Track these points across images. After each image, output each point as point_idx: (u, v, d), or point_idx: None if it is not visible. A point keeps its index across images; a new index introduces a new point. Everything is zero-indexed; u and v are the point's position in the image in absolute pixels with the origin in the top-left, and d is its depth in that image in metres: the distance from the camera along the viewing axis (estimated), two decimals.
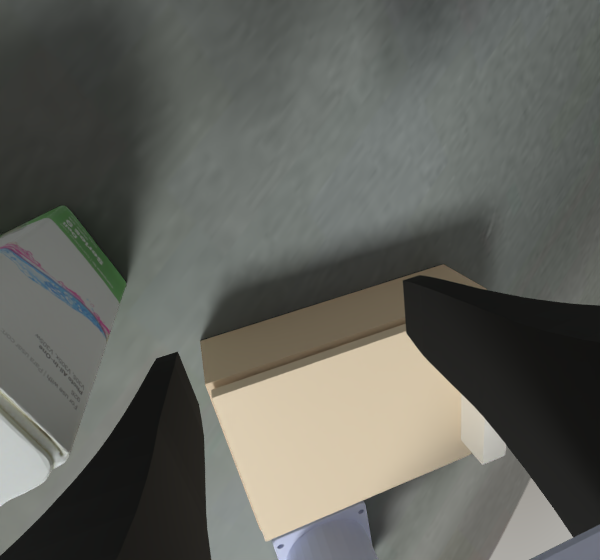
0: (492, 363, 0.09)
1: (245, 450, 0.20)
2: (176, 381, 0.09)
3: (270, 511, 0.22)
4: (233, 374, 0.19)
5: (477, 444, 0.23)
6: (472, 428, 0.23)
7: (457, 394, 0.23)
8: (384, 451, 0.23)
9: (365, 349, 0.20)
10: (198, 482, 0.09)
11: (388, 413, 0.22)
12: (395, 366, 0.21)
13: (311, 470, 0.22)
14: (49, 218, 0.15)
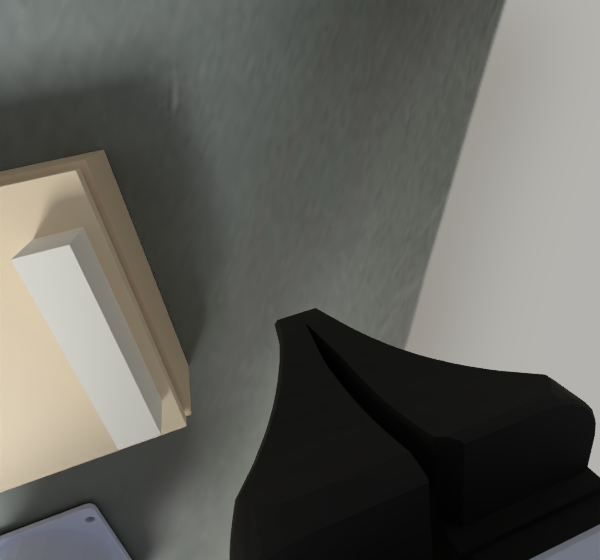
0: None
1: None
2: None
3: None
4: None
5: None
6: None
7: None
8: None
9: None
10: None
11: None
12: None
13: None
14: None
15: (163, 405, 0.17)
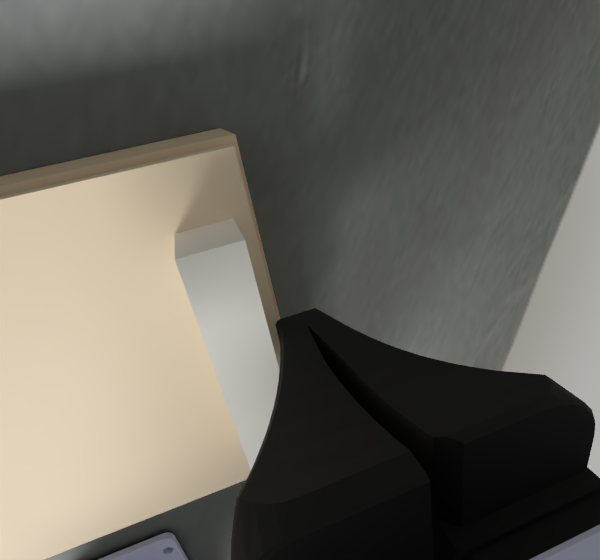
0: None
1: None
2: None
3: None
4: None
5: None
6: None
7: (207, 355, 0.12)
8: (69, 465, 0.12)
9: None
10: None
11: (43, 390, 0.11)
12: (11, 285, 0.10)
13: None
14: None
15: None
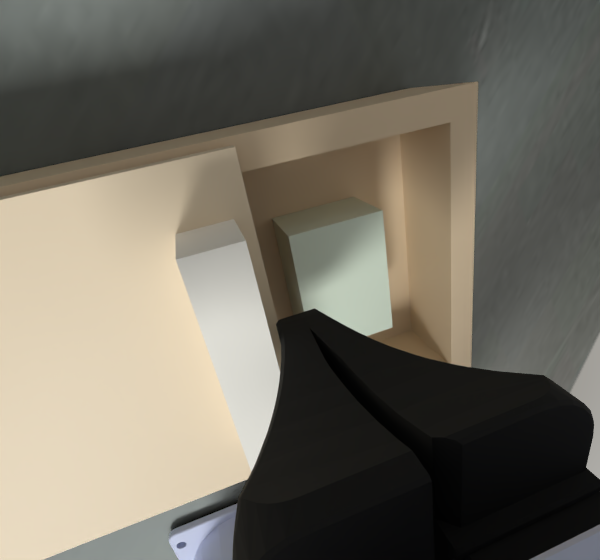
0: None
1: None
2: None
3: None
4: None
5: None
6: None
7: (207, 355, 0.12)
8: (69, 465, 0.12)
9: None
10: None
11: (44, 390, 0.11)
12: (12, 285, 0.10)
13: None
14: None
15: None
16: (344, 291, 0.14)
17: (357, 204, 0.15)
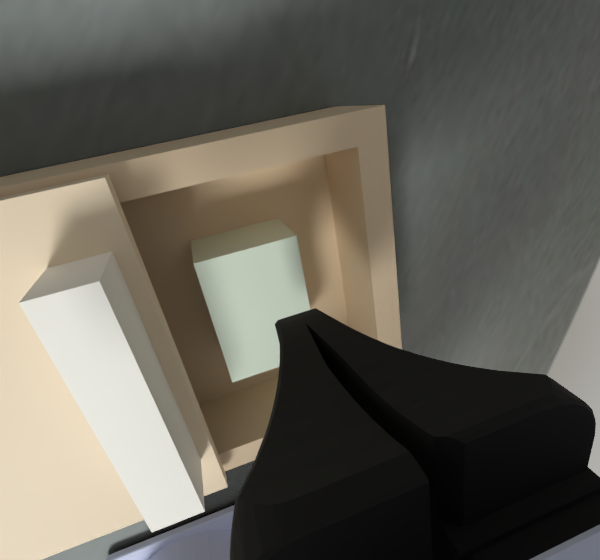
0: None
1: None
2: None
3: None
4: None
5: None
6: None
7: None
8: None
9: None
10: None
11: None
12: None
13: None
14: None
15: (202, 464, 0.14)
16: (261, 318, 0.14)
17: (276, 227, 0.14)
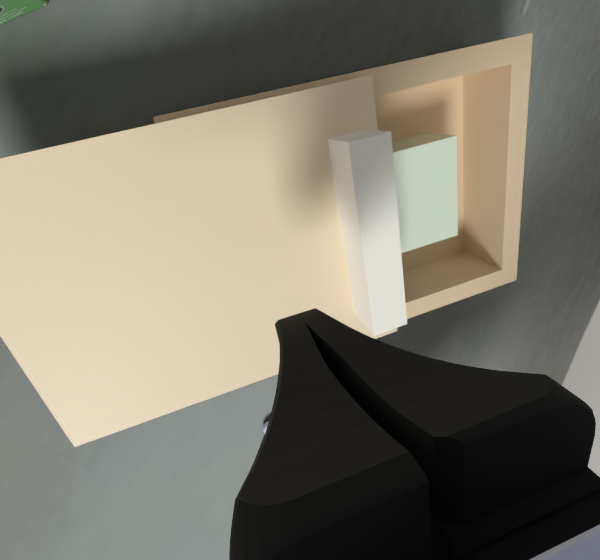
0: None
1: None
2: None
3: (68, 398, 0.16)
4: (192, 108, 0.14)
5: (365, 306, 0.16)
6: (358, 284, 0.16)
7: (336, 236, 0.16)
8: (236, 319, 0.17)
9: (163, 130, 0.13)
10: None
11: (229, 255, 0.15)
12: (223, 171, 0.14)
13: (120, 337, 0.15)
14: None
15: None
16: (424, 201, 0.19)
17: (432, 135, 0.19)
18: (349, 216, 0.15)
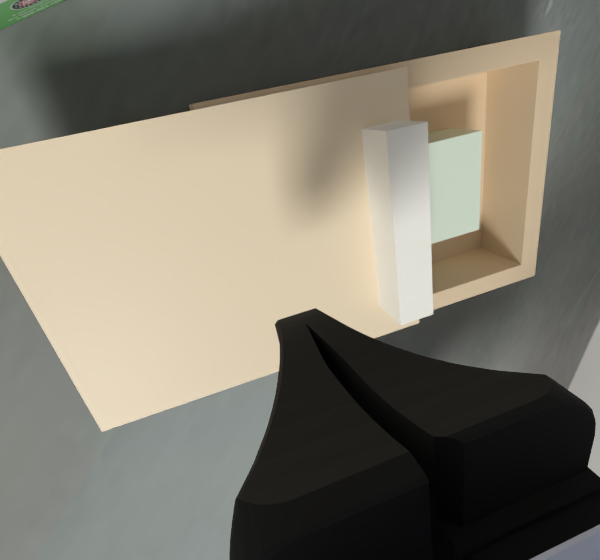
0: None
1: (31, 270, 0.13)
2: None
3: (98, 382, 0.16)
4: None
5: (393, 295, 0.17)
6: (386, 274, 0.17)
7: (365, 226, 0.17)
8: (264, 307, 0.17)
9: (204, 116, 0.13)
10: None
11: (261, 242, 0.15)
12: (260, 158, 0.14)
13: (152, 322, 0.15)
14: None
15: None
16: (448, 195, 0.19)
17: (457, 130, 0.19)
18: (381, 205, 0.15)
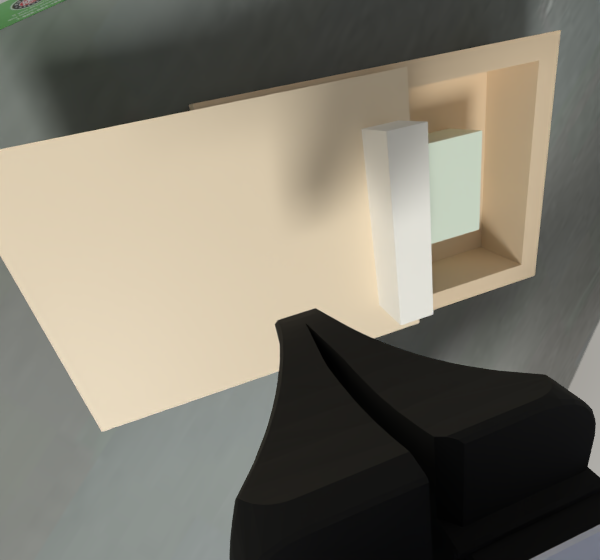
0: None
1: (31, 270, 0.13)
2: None
3: (98, 382, 0.16)
4: None
5: (393, 295, 0.17)
6: (386, 274, 0.17)
7: (365, 226, 0.17)
8: (264, 307, 0.17)
9: (204, 116, 0.13)
10: None
11: (261, 242, 0.15)
12: (260, 158, 0.14)
13: (152, 322, 0.15)
14: None
15: None
16: (448, 195, 0.19)
17: (457, 130, 0.19)
18: (381, 205, 0.15)
